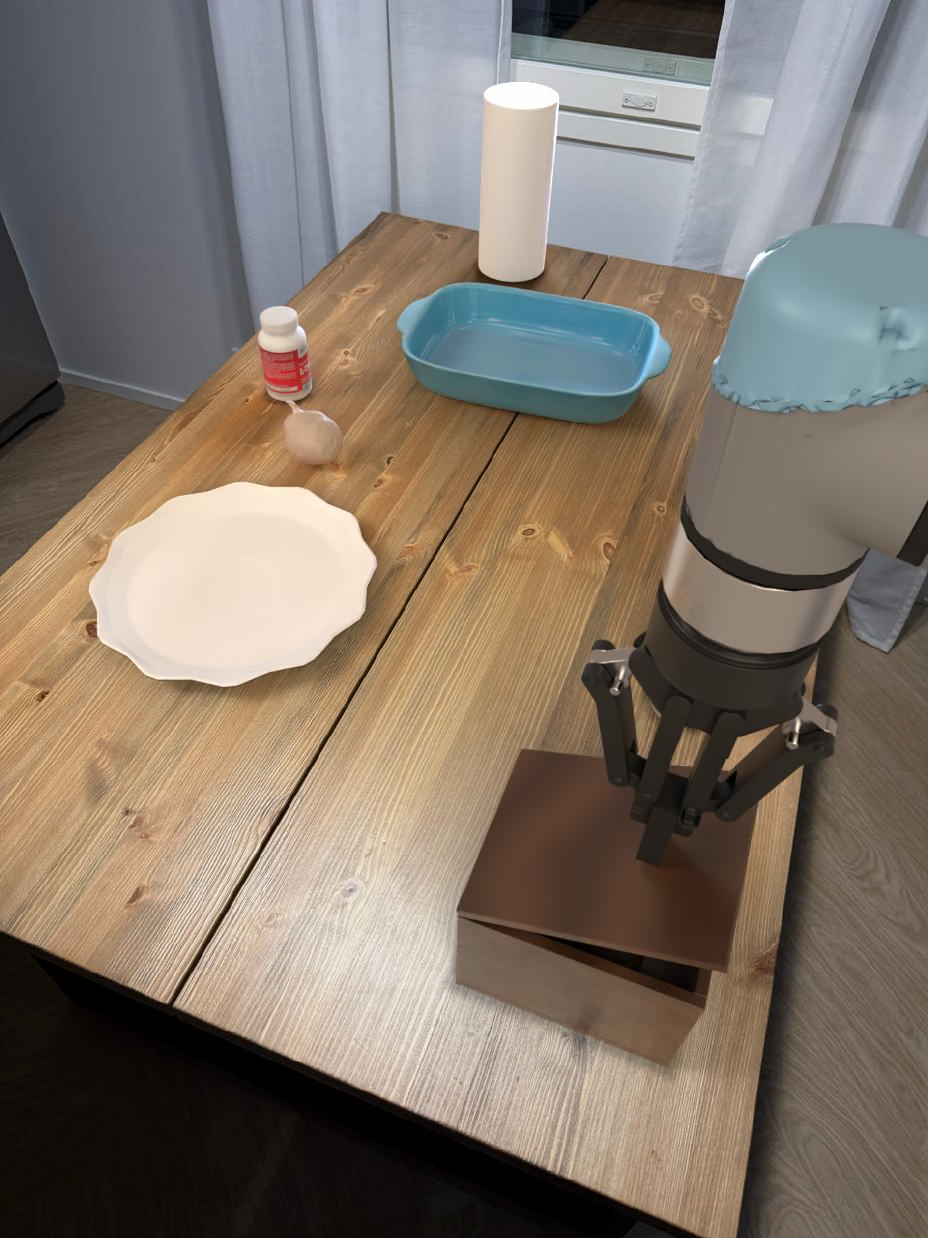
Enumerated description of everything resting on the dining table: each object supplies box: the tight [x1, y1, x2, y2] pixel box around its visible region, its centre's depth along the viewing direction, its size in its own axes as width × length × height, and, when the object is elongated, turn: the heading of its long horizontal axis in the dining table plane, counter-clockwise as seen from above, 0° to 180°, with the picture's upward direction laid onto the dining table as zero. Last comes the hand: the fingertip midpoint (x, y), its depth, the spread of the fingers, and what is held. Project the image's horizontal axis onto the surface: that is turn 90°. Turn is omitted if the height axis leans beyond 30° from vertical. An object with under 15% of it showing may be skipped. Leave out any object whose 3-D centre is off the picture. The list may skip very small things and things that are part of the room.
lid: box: [455, 748, 760, 974], centre depth 59 cm, size 18×14×1 cm
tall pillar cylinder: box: [477, 81, 560, 283], centre depth 135 cm, size 11×11×25 cm
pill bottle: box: [257, 305, 313, 402], centre depth 116 cm, size 6×6×11 cm
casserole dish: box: [396, 282, 672, 425], centre depth 120 cm, size 37×22×7 cm, turn 72°
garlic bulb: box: [282, 400, 344, 466], centre depth 108 cm, size 7×6×8 cm
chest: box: [455, 913, 713, 1068], centre depth 67 cm, size 17×14×13 cm
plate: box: [88, 481, 378, 689], centre depth 95 cm, size 29×29×2 cm
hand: (651, 844), depth 57 cm, fingers closed
